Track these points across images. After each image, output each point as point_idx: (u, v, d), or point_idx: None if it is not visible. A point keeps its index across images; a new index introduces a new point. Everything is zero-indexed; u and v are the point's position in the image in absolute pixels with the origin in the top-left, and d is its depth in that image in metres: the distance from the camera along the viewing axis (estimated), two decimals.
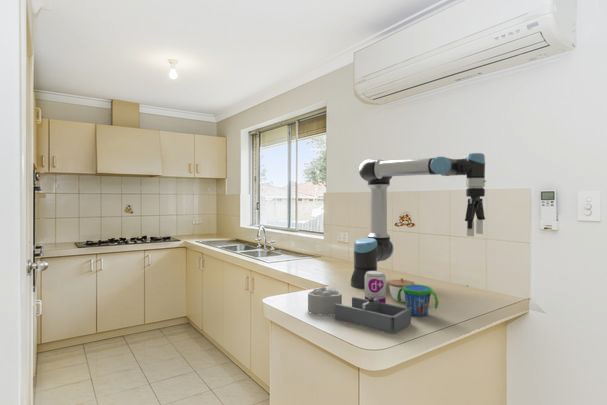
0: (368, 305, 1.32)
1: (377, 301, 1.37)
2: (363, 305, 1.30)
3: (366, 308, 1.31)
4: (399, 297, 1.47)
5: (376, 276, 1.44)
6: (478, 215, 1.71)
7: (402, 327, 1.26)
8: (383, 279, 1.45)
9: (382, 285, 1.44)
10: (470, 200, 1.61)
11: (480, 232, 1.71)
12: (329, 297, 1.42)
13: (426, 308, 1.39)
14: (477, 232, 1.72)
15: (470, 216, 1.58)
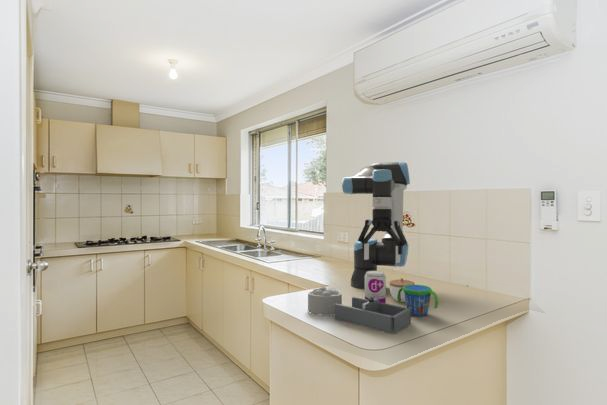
0: (368, 305, 1.32)
1: (377, 301, 1.37)
2: (363, 305, 1.30)
3: (366, 308, 1.31)
4: (399, 297, 1.47)
5: (376, 276, 1.44)
6: None
7: (402, 327, 1.26)
8: (383, 279, 1.45)
9: (382, 285, 1.44)
10: None
11: None
12: (329, 297, 1.42)
13: (426, 308, 1.39)
14: None
15: None
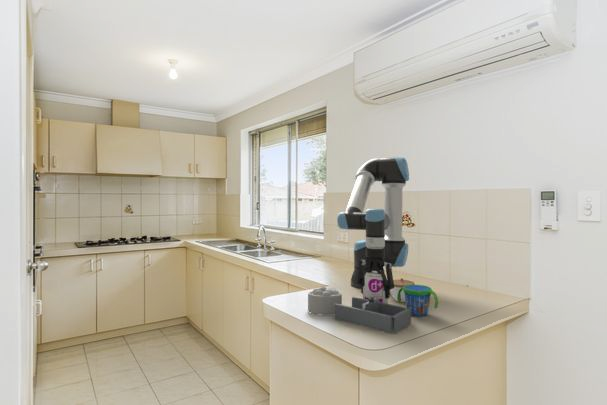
0: (368, 305, 1.32)
1: (377, 301, 1.37)
2: (363, 305, 1.30)
3: (366, 308, 1.31)
4: (399, 297, 1.47)
5: (376, 276, 1.44)
6: None
7: (402, 327, 1.26)
8: None
9: (382, 285, 1.44)
10: None
11: None
12: (329, 297, 1.42)
13: (426, 308, 1.39)
14: None
15: None
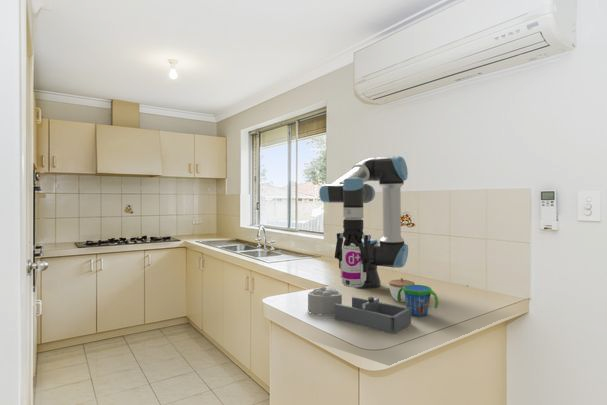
0: (368, 305, 1.32)
1: (377, 301, 1.37)
2: (363, 305, 1.30)
3: (366, 308, 1.31)
4: (399, 297, 1.47)
5: (354, 249, 1.35)
6: None
7: (402, 327, 1.26)
8: None
9: (360, 259, 1.35)
10: None
11: None
12: (329, 297, 1.42)
13: (426, 308, 1.39)
14: None
15: None
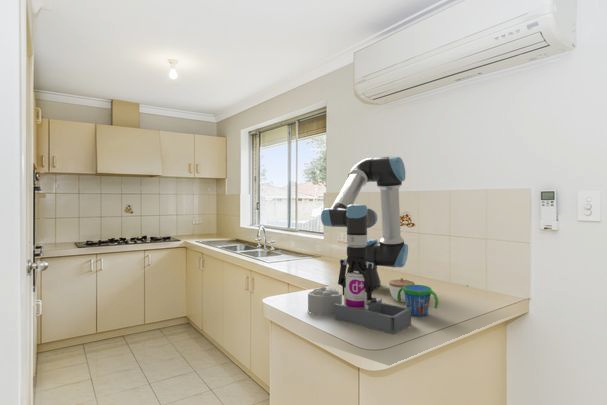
0: (371, 306, 1.31)
1: (380, 302, 1.36)
2: (366, 306, 1.30)
3: (369, 309, 1.30)
4: (399, 297, 1.47)
5: (357, 277, 1.34)
6: None
7: (402, 327, 1.26)
8: None
9: (364, 286, 1.34)
10: None
11: None
12: (329, 297, 1.42)
13: (426, 308, 1.39)
14: None
15: None
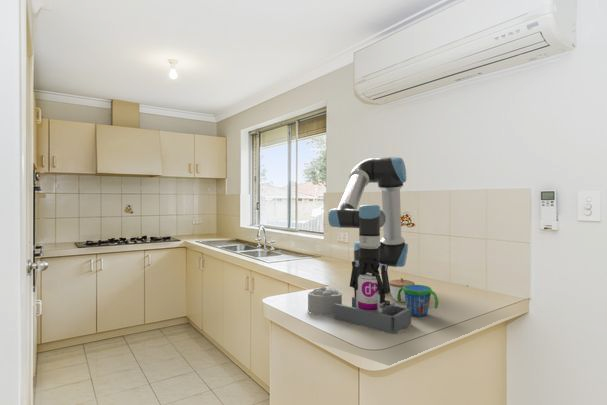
0: (384, 309, 1.27)
1: (393, 304, 1.32)
2: (379, 309, 1.26)
3: (382, 312, 1.26)
4: (399, 297, 1.47)
5: (370, 279, 1.31)
6: None
7: (402, 327, 1.26)
8: None
9: (377, 289, 1.31)
10: None
11: None
12: (329, 297, 1.42)
13: (426, 308, 1.39)
14: None
15: None
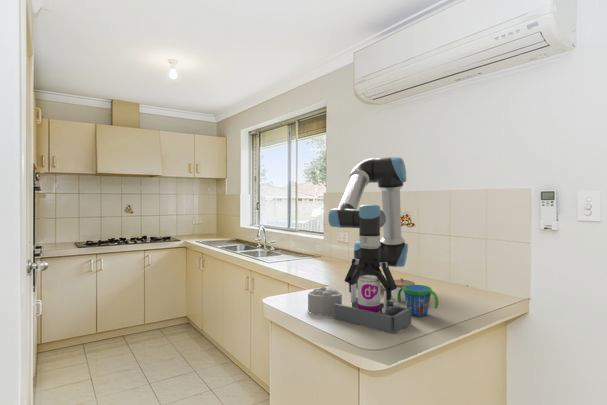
0: (388, 309, 1.27)
1: (396, 305, 1.32)
2: (383, 309, 1.25)
3: (386, 312, 1.26)
4: (399, 297, 1.47)
5: (370, 281, 1.31)
6: None
7: (402, 327, 1.26)
8: (377, 284, 1.32)
9: (376, 291, 1.31)
10: None
11: None
12: (329, 297, 1.42)
13: (426, 308, 1.39)
14: None
15: None
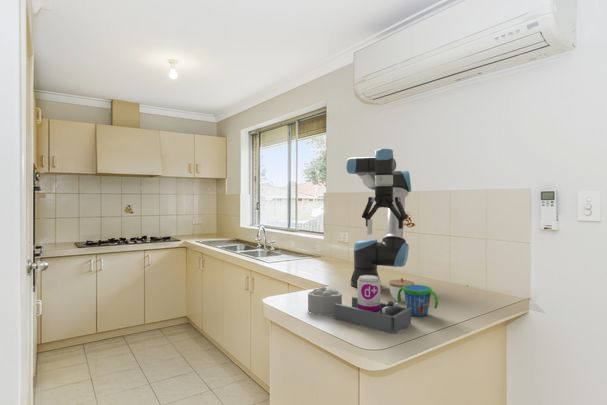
0: (388, 309, 1.27)
1: (396, 305, 1.32)
2: (383, 309, 1.25)
3: (386, 312, 1.26)
4: (399, 297, 1.47)
5: (370, 282, 1.31)
6: None
7: (402, 327, 1.26)
8: (377, 284, 1.32)
9: (376, 291, 1.31)
10: None
11: None
12: (329, 297, 1.42)
13: (426, 308, 1.39)
14: None
15: None
